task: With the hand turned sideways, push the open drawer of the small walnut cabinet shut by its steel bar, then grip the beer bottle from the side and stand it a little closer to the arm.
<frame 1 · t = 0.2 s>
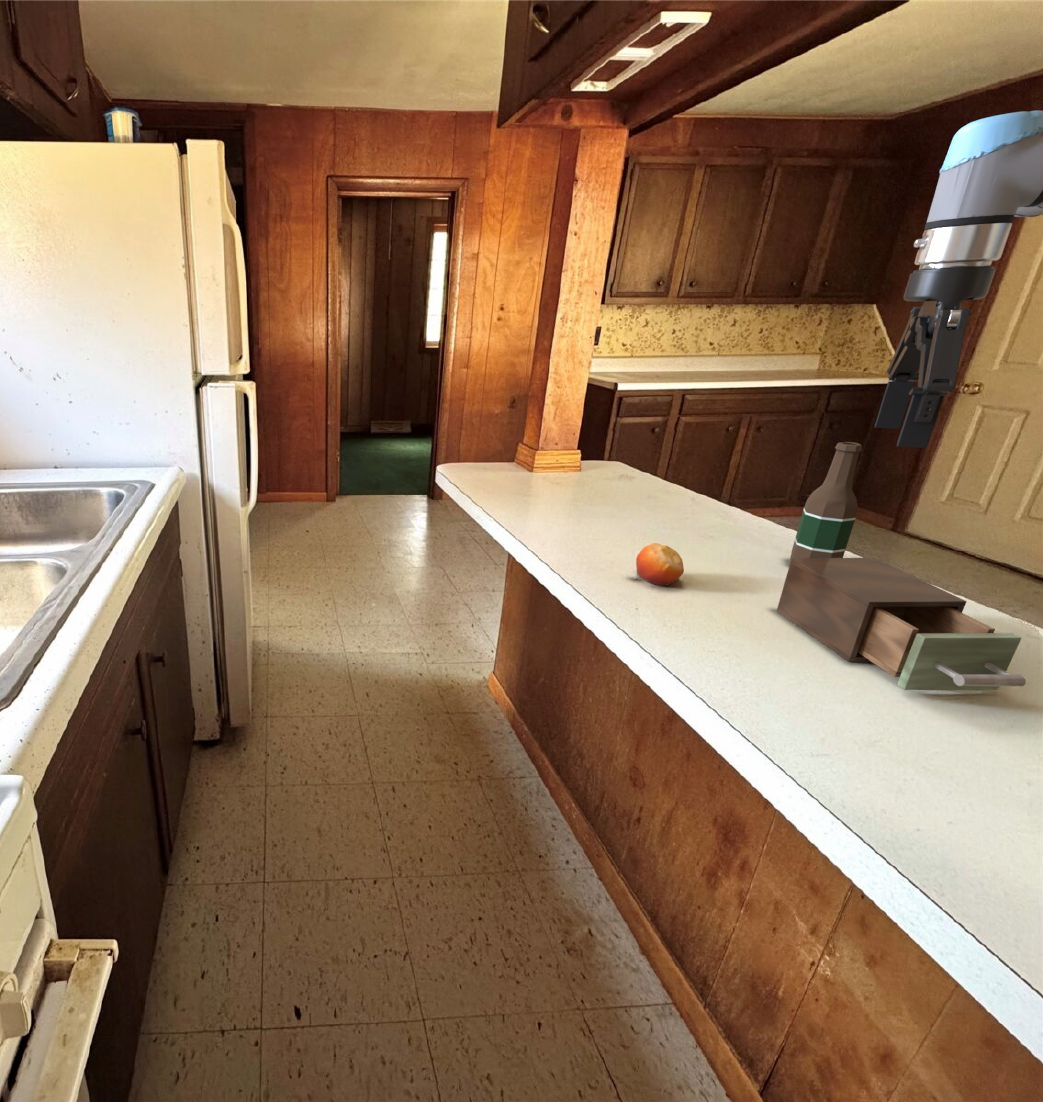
hand: (898, 437, 83), 31 cm above the countertop, tool pointing down, fingers open, 13 cm apart
fruit: (656, 582, 113), on the countertop
beer bottle: (812, 567, 117), on the countertop
cabinet: (852, 634, 93), on the countertop
drawer: (925, 643, 82), point 5 cm above the countertop, slide at 7.0 cm
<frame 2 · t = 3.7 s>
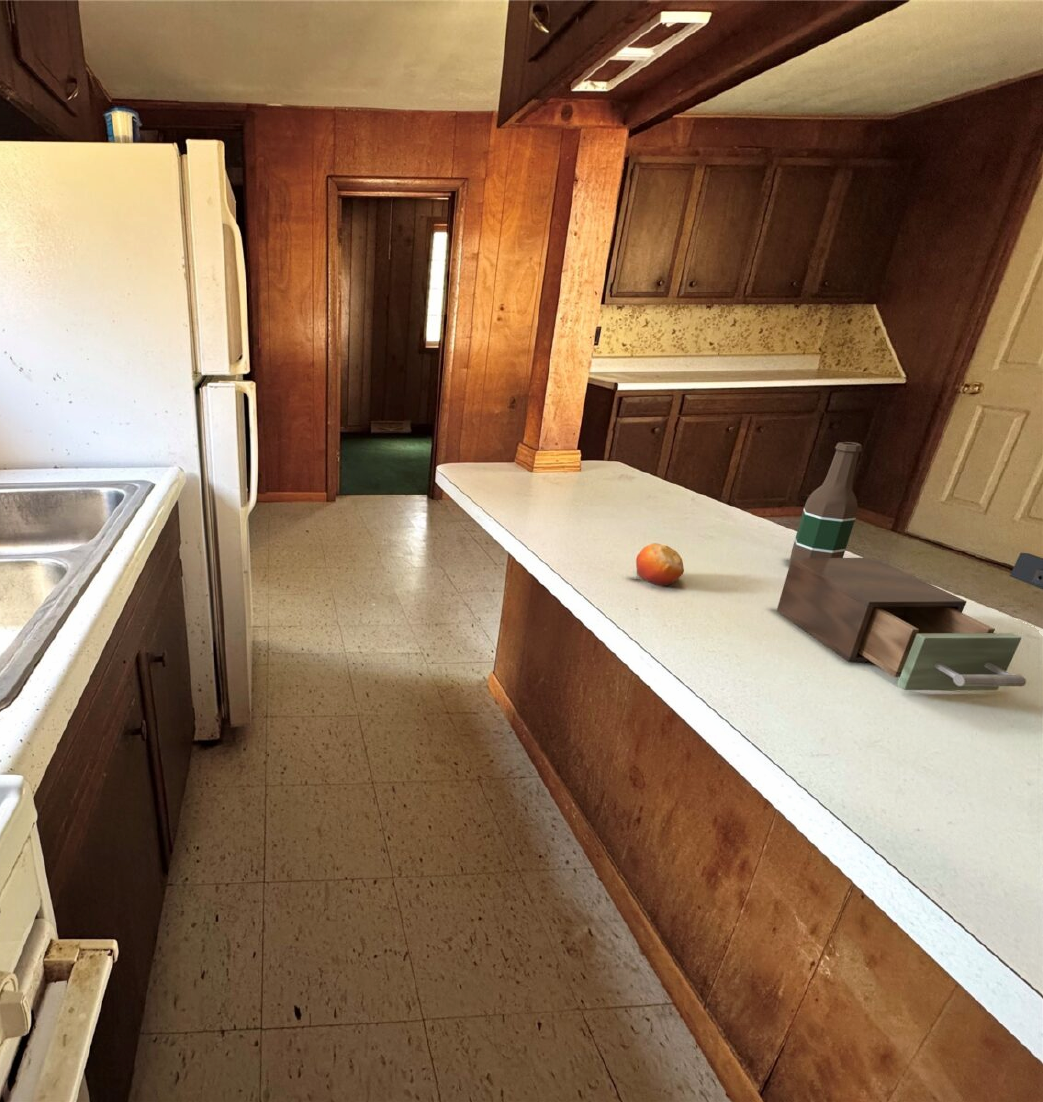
nothing on the countertop moved.
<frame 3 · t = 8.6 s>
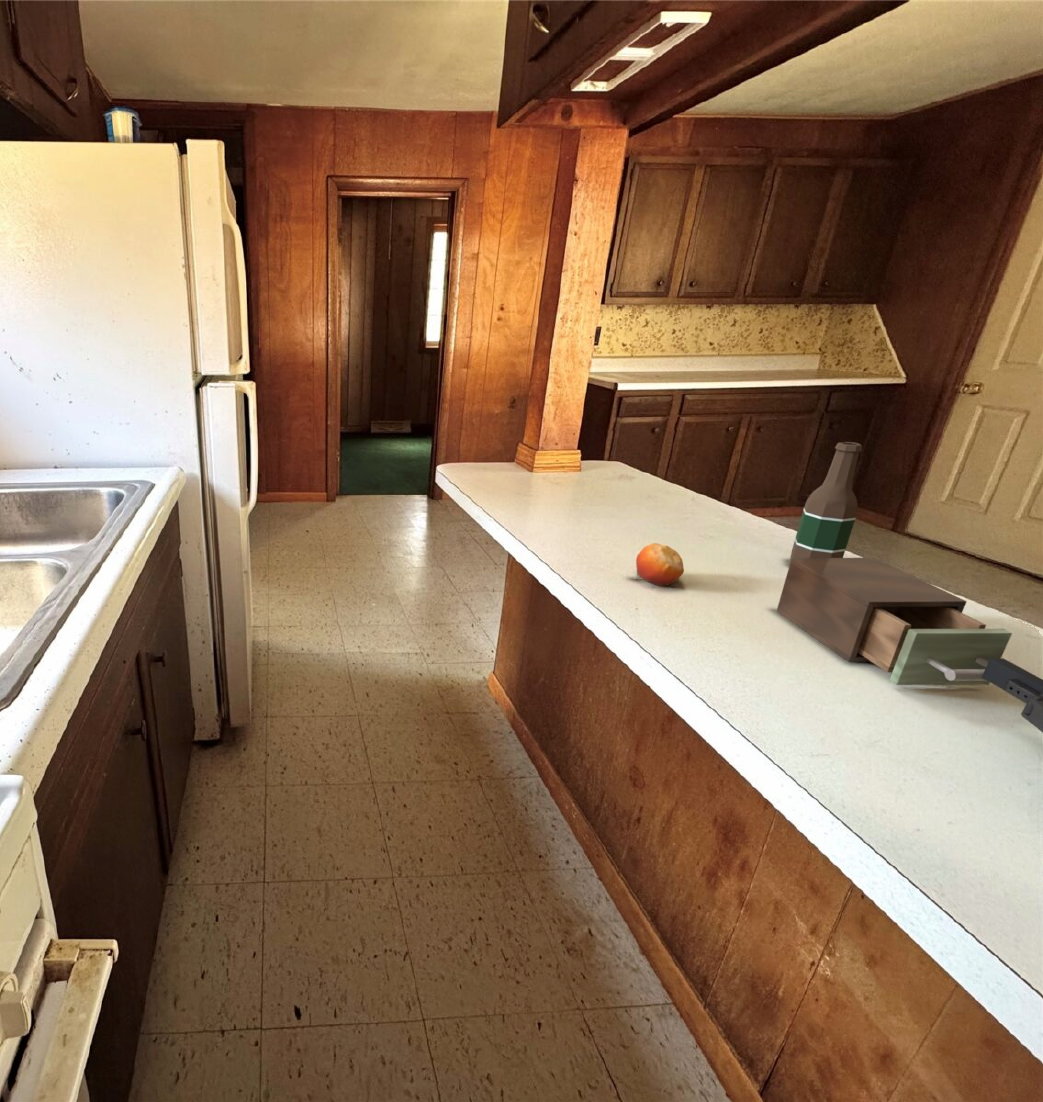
hand: (992, 668, 73), 6 cm above the countertop, tool horizontal, fingers closed
drawer: (918, 639, 83), point 5 cm above the countertop, slide at 5.8 cm, touching gripper
everything else where it was.
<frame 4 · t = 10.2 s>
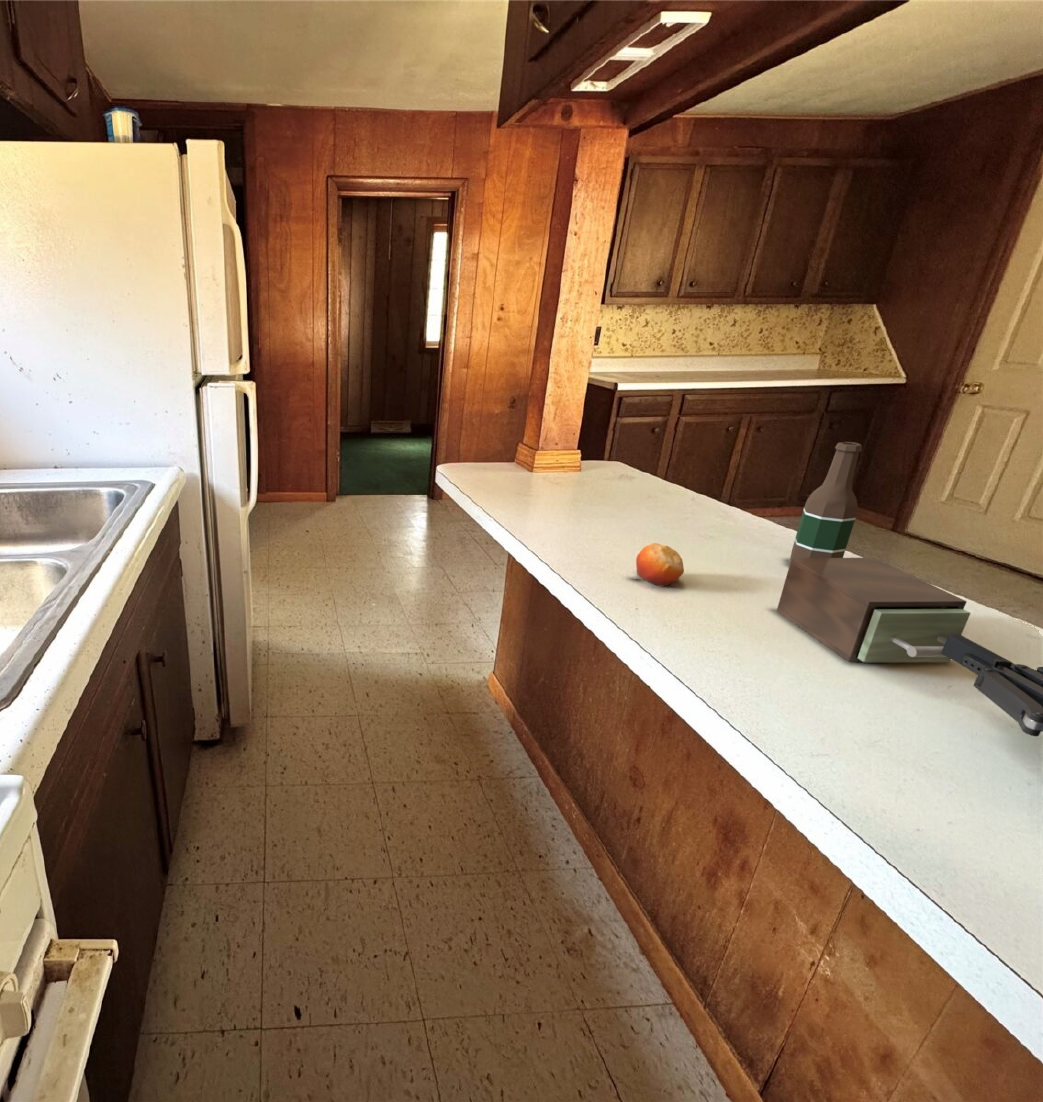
hand: (950, 644, 78), 6 cm above the countertop, tool horizontal, fingers closed
drawer: (885, 620, 88), point 5 cm above the countertop, slide at 0.4 cm, touching gripper
everything else where it was.
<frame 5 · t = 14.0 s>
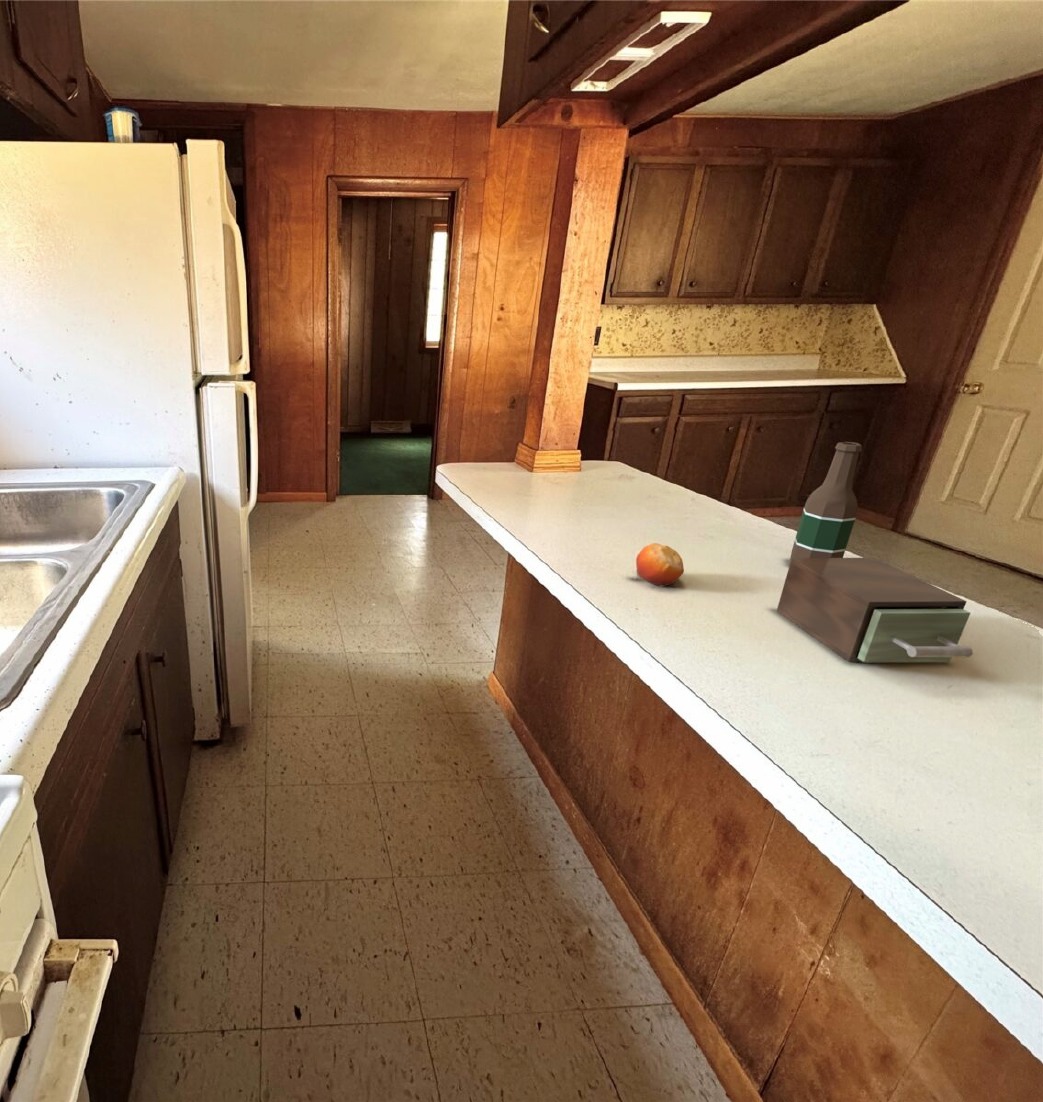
drawer: (885, 620, 88), point 5 cm above the countertop, slide at 0.4 cm
everything else where it was.
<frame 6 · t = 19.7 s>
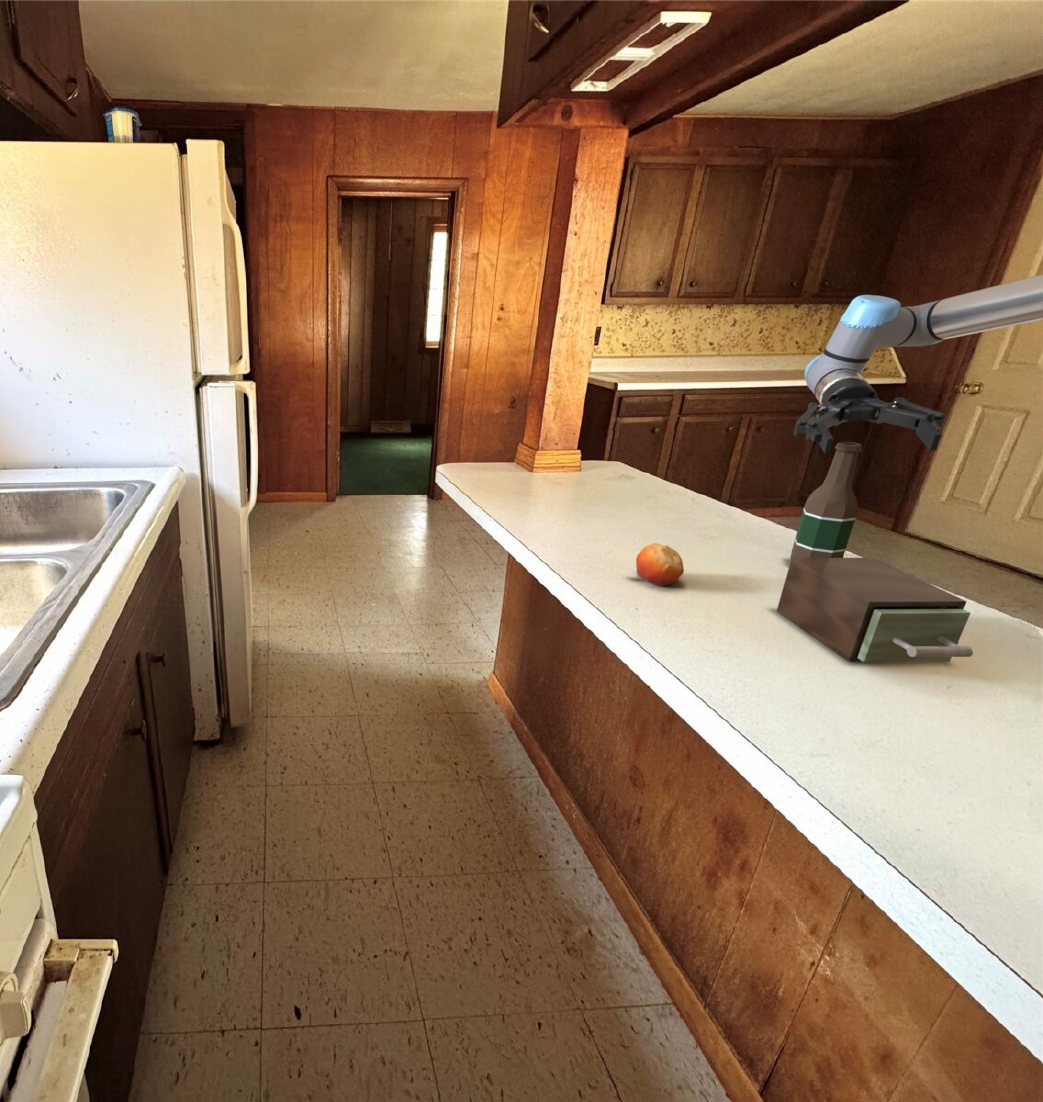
hand: (880, 444, 101), 25 cm above the countertop, tool horizontal, fingers open, 13 cm apart
nothing on the countertop moved.
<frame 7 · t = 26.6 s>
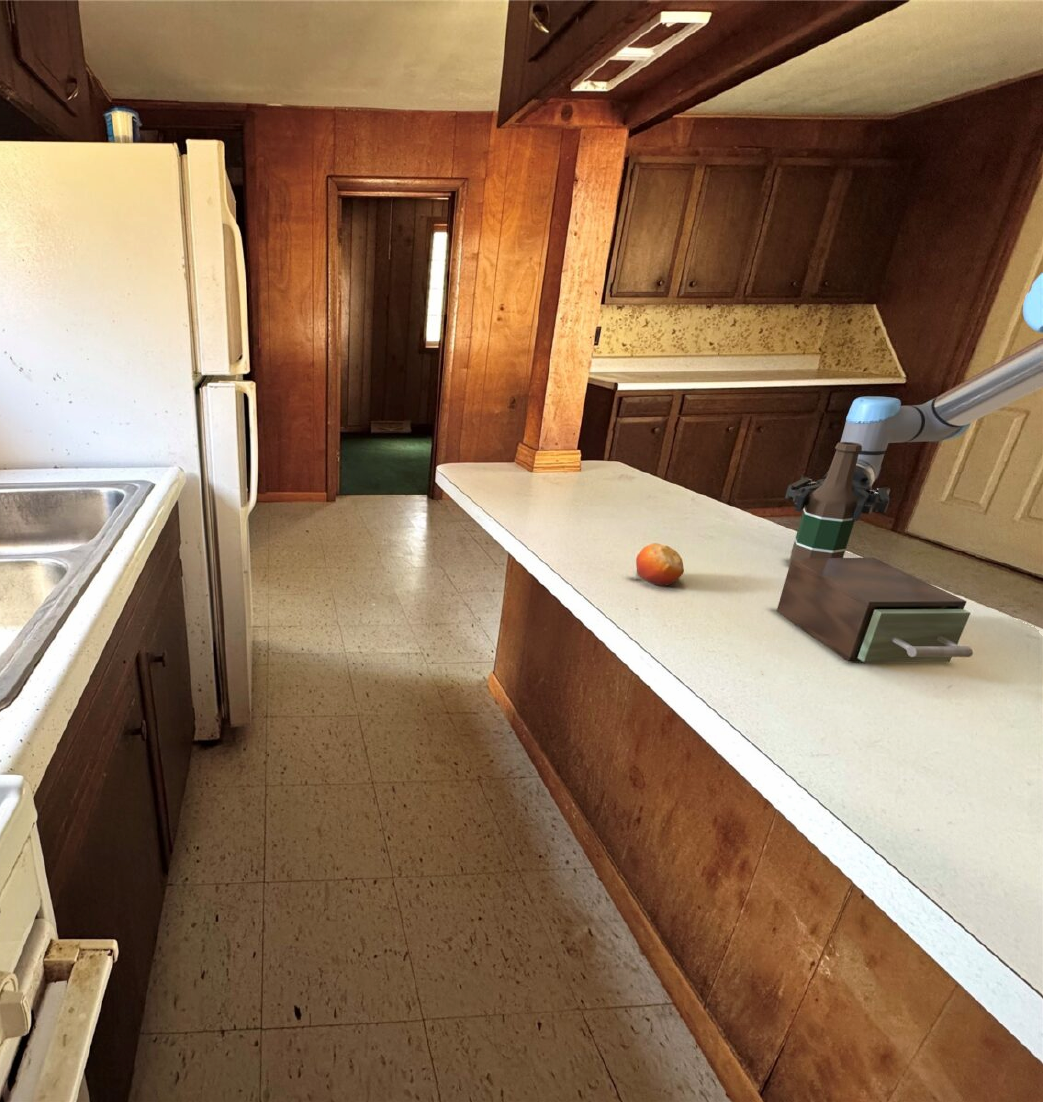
hand: (827, 508, 109), 13 cm above the countertop, tool horizontal, fingers closed on beer bottle, 7 cm apart
beer bottle: (812, 567, 117), on the countertop, touching gripper
everything else where it was.
when the fingers open (13 cm above the countertop, at t = 32.1 s): beer bottle stays where it is, on the countertop.
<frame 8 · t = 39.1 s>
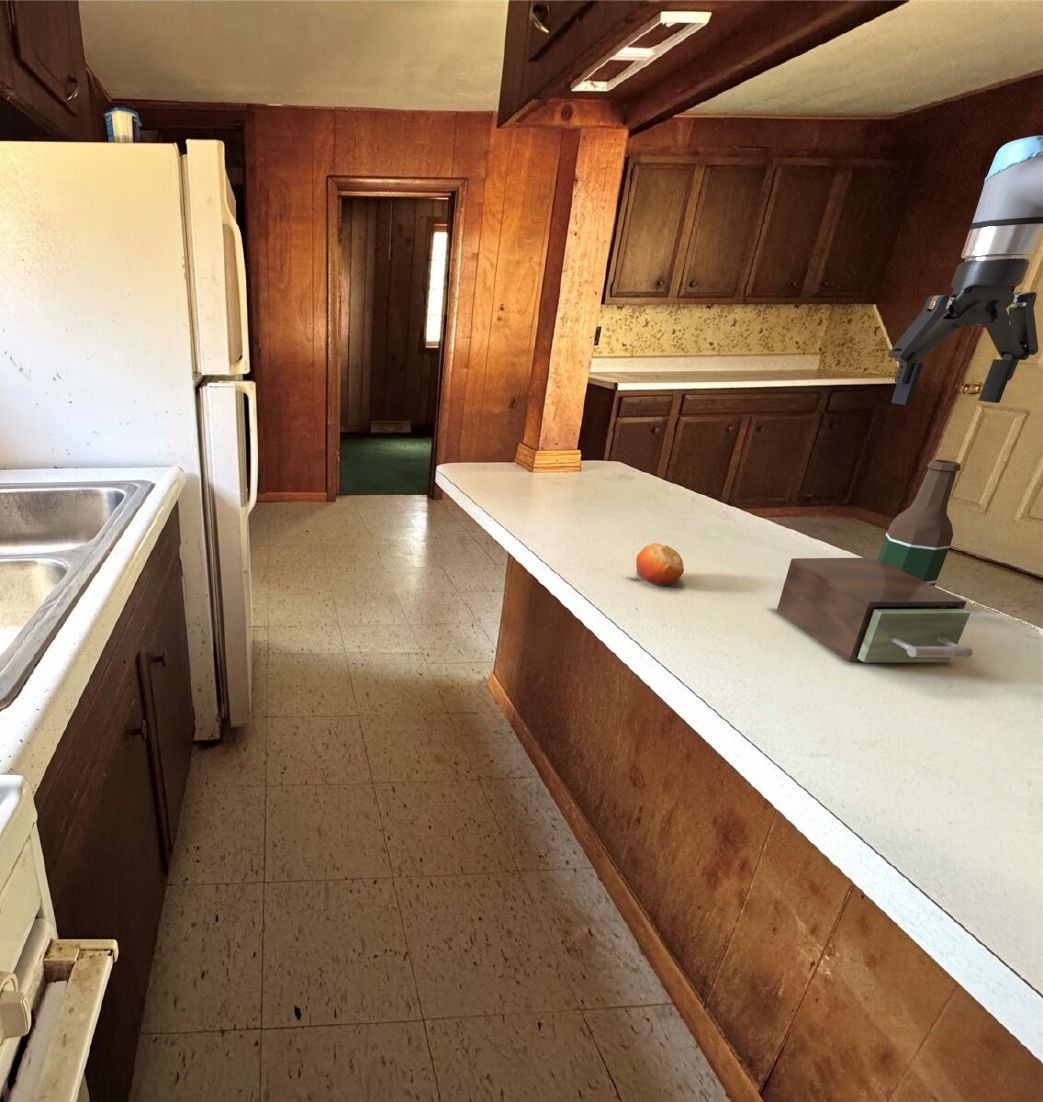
hand: (944, 403, 99), 32 cm above the countertop, tool pointing down, fingers open, 13 cm apart
beer bottle: (895, 599, 104), on the countertop
everything else where it was.
at the end: drawer slide at 0.4 cm; beer bottle inside the target area (0.1 cm from its centre), on the countertop; beer bottle tilted 0° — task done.
